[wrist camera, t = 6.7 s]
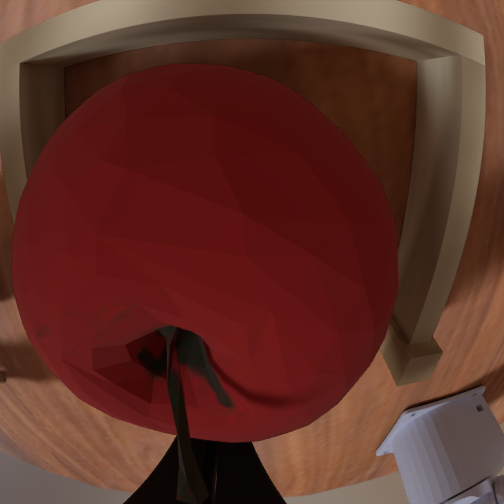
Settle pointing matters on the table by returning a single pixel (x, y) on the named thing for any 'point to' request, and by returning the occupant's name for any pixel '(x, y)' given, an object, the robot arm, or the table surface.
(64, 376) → the apple
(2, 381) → the lion figurine
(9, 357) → the table surface
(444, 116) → the corral
